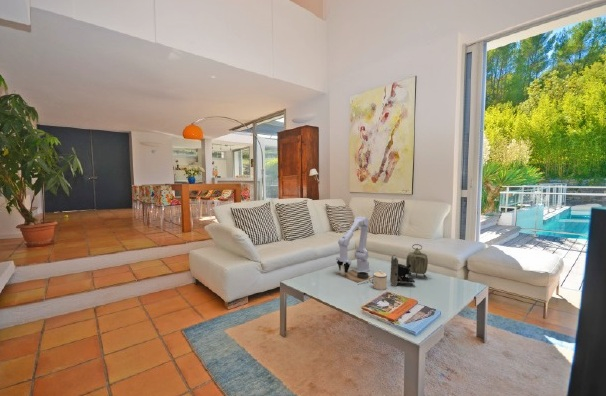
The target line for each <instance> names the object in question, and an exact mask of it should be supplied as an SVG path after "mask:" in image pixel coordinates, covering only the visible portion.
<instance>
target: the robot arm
mask: <svg viewBox="0 0 606 396" xmlns="http://www.w3.org/2000/svg"><path fill="white" fill-rule="evenodd" d="M353 219H354V220H353V223H352V225H351V227H350V229H349V230H346V231H345V233H344V234H343V235H342V237H340V238H339V239H338V241H337V244H338V246H339V256H338V257H335V260H336V264H337V266H338V269H339V272H341V265H344V267H345V273H347V272H348V271H349V268H350V266H351V265H352V261H351V260H349V259H348V246H349V245H350V241H351V239H352V238H353V236H354V232H355V231H356V230H357V229H358V228H359V227H360V235H359V243H358V245H359V246H358V248H356V249H355V253H354V257H355V260H356V271H357V270H358V271H361V272H368V271H370V262H369V260H368V259H369V251H368V250H367V248H366V247H367V239H368V231H369V223H370V220H369V218H368V217H366V216H365V217H364V216H359V215H357V216H355V218H353Z"/></svg>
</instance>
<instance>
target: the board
mask: <svg viewBox="0 0 606 396" xmlns="http://www.w3.org/2000/svg"><path fill="white" fill-rule="evenodd" d="M358 272H359V270H358V271H357V270H354V269H351V270H348V272H347V275H346V276H342V275H341V272H340V273H336V276H339V277H342V278H344V279H347V280H350V281H352V282H354V283H356V284H357V286H359V285H362V284H366V283H368V282H369V277H370V276H371V275H369V274H368V278H367V279H361V278H358V277H357V273H358ZM372 279H373V278H372V277H371V278H370V281H371V282H372ZM367 280H368V281H367Z"/></svg>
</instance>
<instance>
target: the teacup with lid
mask: <svg viewBox="0 0 606 396" xmlns="http://www.w3.org/2000/svg"><path fill="white" fill-rule="evenodd" d="M369 276H370V277H369V279H368V282H369V283H370V284H372V285H373V286H372V287H373V288H374V289H375V290H382V291H383V290H386V289H387V277H388V275H387V273H385V272H383V271H382V270H380V269H379V270H378V271H376V272H374V273H373V274H372V275H369ZM371 277H372V278H371ZM370 278H371V279H372V280H371V279H370ZM370 280H371V281H370Z"/></svg>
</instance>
